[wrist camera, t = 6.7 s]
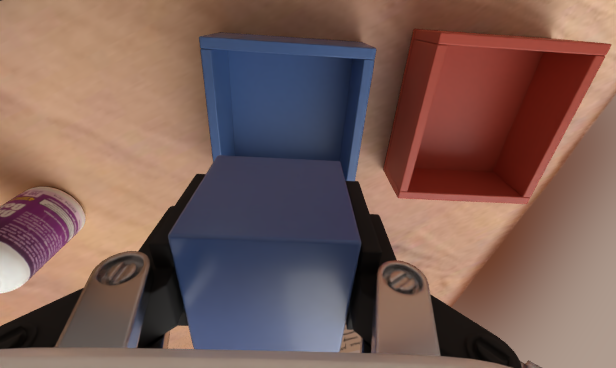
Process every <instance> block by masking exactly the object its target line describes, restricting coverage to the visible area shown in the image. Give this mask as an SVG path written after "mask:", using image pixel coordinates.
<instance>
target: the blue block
mask: <svg viewBox="0 0 616 368" xmlns="http://www.w3.org/2000/svg"><path fill="white" fill-rule="evenodd" d="M168 239H169V244H170V248H171V252H172V257H173V261H174V265H175V269H176V274H177V278H178V282H179V287H180V291H181V295H182V300H183V304H184V308H185V313H186V317H187V321H188V326H189V330H190V334H191V339H192V343H193V347H194V349H210V350H257V351H302V352H339V351H340V348H341V343H342V338H343V333H344V328H345V323H346V318H347V313H348V308H349V303H350V298H351V293H352V288H353V283H354V278H355V273H356V268H357V263H358V258H359V253H360V248H361V239H360V236H359V232H358V228H357V224H356V220H355V216H354V212H353V208H352V205H351V201H350V197H349V193H348V189H347V185H346V181H345V177H344V174H343V170H342V166H341V162H339V161H325V160H305V159H285V158H264V157H244V156H224V155H219V156H217V157H216V159H215V161H214V162H213V164H212V165H211V167H210V169H209V170H208V172H207V173H206V175H205V176H204V178H203V180H202V181H201V183H200V184H199V186H198V188H197V189H196V191H195V192H194V194H193V196H192V197H191V199H190V200H189V202H188V204H187V205H186V207H185V208H184V210H183V212H182V213H181V215H180V216H179V218H178V220H177V221H176V223H175V224H174V226H173V228H172V229H171V231H170V232H169V235H168Z"/></svg>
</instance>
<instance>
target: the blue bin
mask: <svg viewBox="0 0 616 368" xmlns="http://www.w3.org/2000/svg"><path fill="white" fill-rule="evenodd" d="M199 42H200V48H202V49H201V50H200V51H201V59H202V68H203V77H204V86H205V95H206V103H207V112H208V121H209V130H210V139H211V147H212V156H213V162H214V161H215V159H216V157H217V156H219V155H224V156H244V157H264V158H285V159H305V160H325V161H339V162H341V166H342V170H343V174H344V177H345V181H355V177H356V171H357V165H358V159H359V153H360V147H361V140H362V134H363V128H364V122H365V116H366V110H367V104H368V98H369V92H370V86H371V80H372V74H373V67H374V59H375V55H376V48H374V47H372V46H370V45H367V44H365V43H363V42H355V41H341V40H326V39H311V38H297V37H282V36H267V35H253V34H238V33H223V32H219V33H214V34H209V35H204V36H200V37H199Z"/></svg>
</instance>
